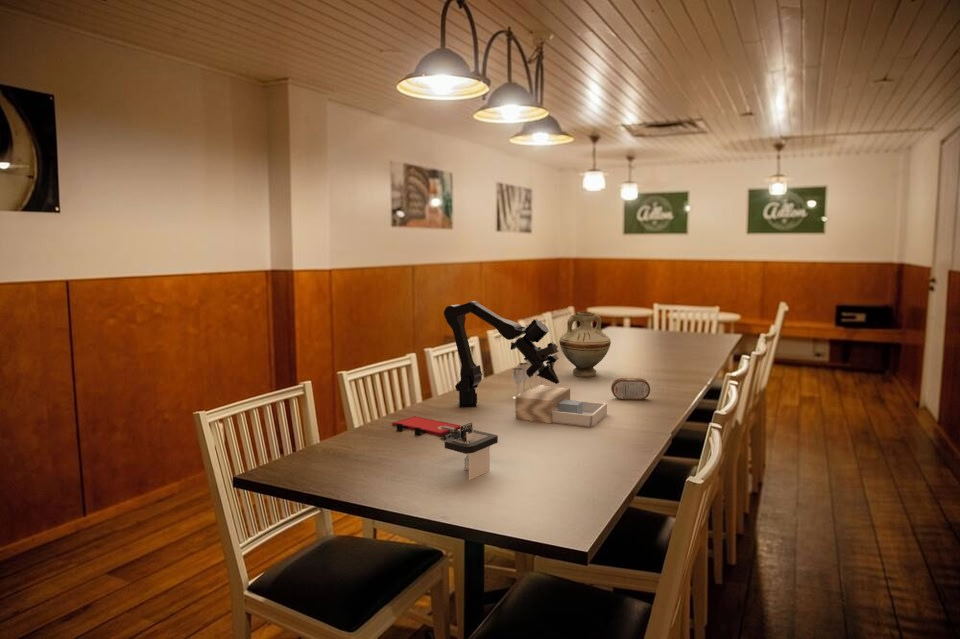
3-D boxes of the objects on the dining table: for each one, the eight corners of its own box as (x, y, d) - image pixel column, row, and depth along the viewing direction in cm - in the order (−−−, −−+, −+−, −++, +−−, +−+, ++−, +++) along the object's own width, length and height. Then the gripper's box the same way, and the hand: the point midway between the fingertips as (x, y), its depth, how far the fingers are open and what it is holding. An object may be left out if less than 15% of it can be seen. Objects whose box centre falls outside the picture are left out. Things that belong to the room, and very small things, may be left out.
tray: (550, 422, 216) (550, 411, 216) (567, 409, 232) (567, 399, 232) (591, 427, 209) (591, 416, 209) (606, 414, 225) (606, 403, 225)
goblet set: (521, 400, 248) (521, 367, 247) (508, 398, 251) (508, 366, 250) (550, 385, 272) (550, 356, 271) (538, 384, 275) (538, 355, 274)
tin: (649, 398, 247) (649, 377, 246) (650, 400, 244) (651, 379, 243) (611, 398, 249) (611, 377, 248) (611, 400, 246) (612, 379, 245)
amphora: (617, 373, 296) (618, 310, 293) (598, 382, 276) (599, 315, 273) (571, 368, 309) (571, 308, 305) (550, 377, 289) (550, 313, 285)
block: (558, 403, 220) (577, 405, 217) (564, 399, 226) (582, 401, 222) (558, 416, 221) (577, 419, 218) (564, 412, 226) (582, 414, 223)
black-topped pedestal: (465, 451, 189) (464, 408, 187) (537, 469, 172) (537, 422, 171) (398, 478, 167) (397, 430, 165) (473, 502, 151) (472, 449, 149)
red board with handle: (450, 444, 194) (479, 433, 206) (449, 435, 194) (479, 425, 206) (384, 429, 213) (415, 420, 225) (384, 421, 213) (414, 412, 224)
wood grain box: (515, 418, 221) (515, 396, 220) (536, 405, 239) (536, 385, 238) (550, 423, 215) (550, 400, 214) (570, 409, 233) (570, 388, 232)
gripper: (534, 339, 215) (564, 373, 211) (553, 332, 231) (581, 364, 228) (513, 360, 220) (542, 394, 216) (533, 352, 236) (561, 383, 232)
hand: (558, 383), depth 223 cm, fingers closed
